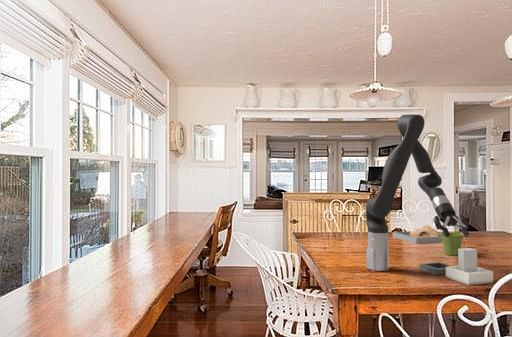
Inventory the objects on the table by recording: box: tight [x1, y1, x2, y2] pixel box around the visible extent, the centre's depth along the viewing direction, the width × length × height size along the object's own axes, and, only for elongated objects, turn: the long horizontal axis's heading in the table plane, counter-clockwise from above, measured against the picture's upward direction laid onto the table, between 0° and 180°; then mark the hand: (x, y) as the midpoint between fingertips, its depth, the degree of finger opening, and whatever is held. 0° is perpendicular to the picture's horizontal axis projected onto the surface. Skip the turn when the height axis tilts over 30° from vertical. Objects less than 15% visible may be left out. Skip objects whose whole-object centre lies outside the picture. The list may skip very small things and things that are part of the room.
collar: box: [419, 261, 451, 276], centre depth 184 cm, size 11×11×2 cm
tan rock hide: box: [410, 224, 439, 238], centre depth 262 cm, size 18×14×8 cm
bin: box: [445, 265, 494, 286], centre depth 169 cm, size 12×12×4 cm
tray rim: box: [392, 230, 443, 245], centre depth 266 cm, size 24×24×4 cm
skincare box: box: [457, 247, 478, 273], centre depth 169 cm, size 6×4×12 cm
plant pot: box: [439, 231, 464, 257], centre depth 219 cm, size 12×12×11 cm
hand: (457, 236), depth 176 cm, fingers open, 8 cm apart
